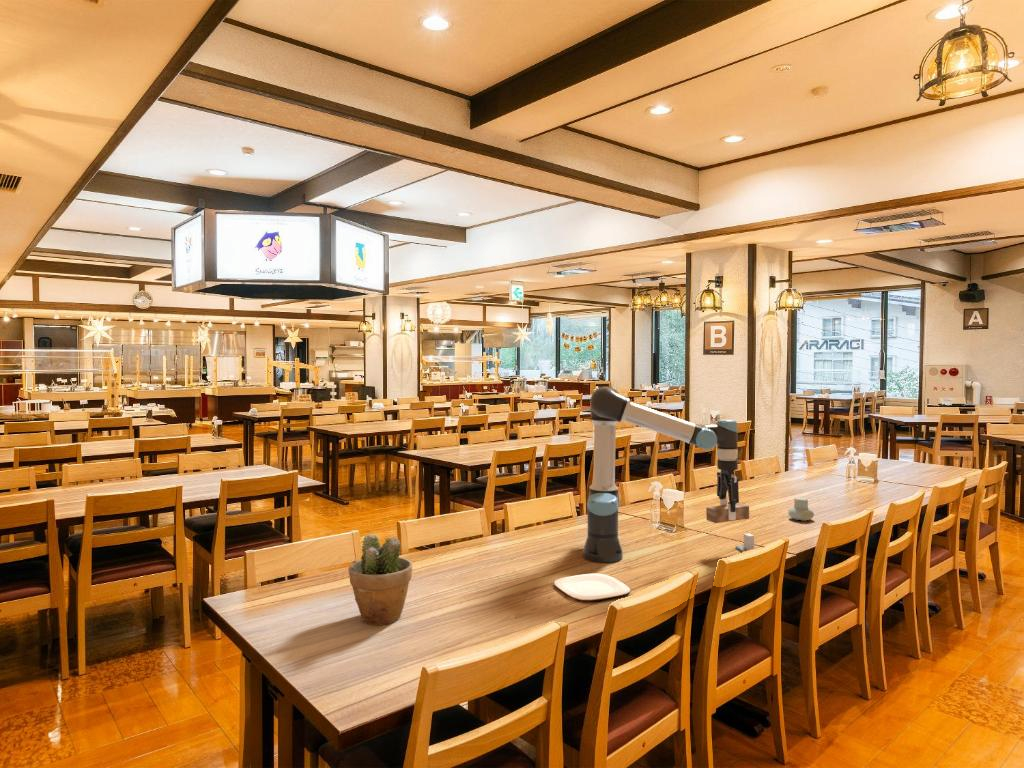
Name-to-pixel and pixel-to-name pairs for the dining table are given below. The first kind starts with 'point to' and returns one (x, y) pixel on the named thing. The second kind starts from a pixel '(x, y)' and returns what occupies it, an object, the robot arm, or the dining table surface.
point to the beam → (726, 513)
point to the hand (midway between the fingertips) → (727, 517)
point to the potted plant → (380, 581)
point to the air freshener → (801, 510)
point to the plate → (591, 587)
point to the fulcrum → (747, 543)
